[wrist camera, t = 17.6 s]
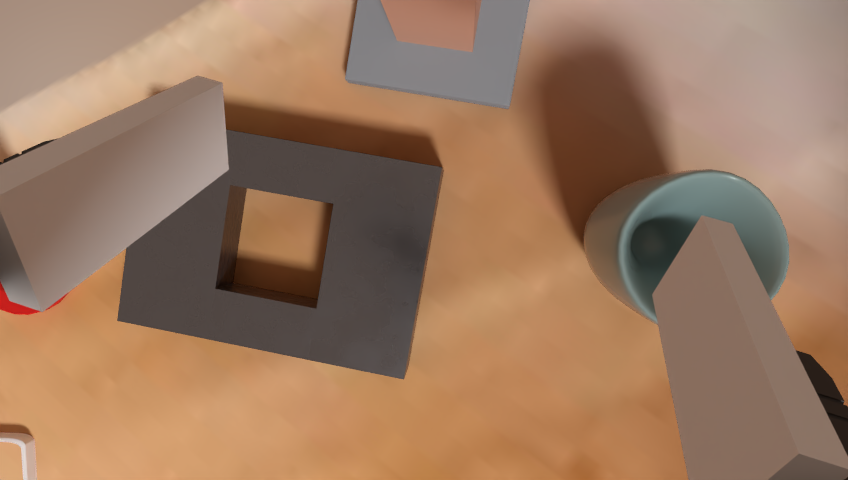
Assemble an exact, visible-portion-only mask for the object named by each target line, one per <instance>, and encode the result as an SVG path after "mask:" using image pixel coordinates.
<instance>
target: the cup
mask: <svg viewBox="0 0 848 480" xmlns="http://www.w3.org/2000/svg"><path fill="white" fill-rule="evenodd" d="M701 215H703V216H707V217H710V218H714V219H717V220H721V221H725V222H728V223H732V224H733V225H734V227H735V229H736V231H737V233H738V235H739V237H740V239H741V241H742V243H743V245H744V247H745V249H746V251H747V253H748V255H749V257H750V259H751V262H752V264H753V266H754V268H755V270H756V272H757V274H758V276H759V278H760V280H761V282H762V284H763V286H764V288H765V290H766V292H767V294H768V296H769V298H770V300H772V298H773V297H774V296H775V295H776V294H777V292H778V291H779V289H780V287H781V285H782V283H783V281H784V279H785V277H786V273H787V268H788V264H789V244H788V239H787V234H786V230H785V227H784V225H783V222H782V220H781V218H780V215H779V213H778V212H777V210H776V209H775V207H774V206H773V204H772V203H771V201H770V200H769V199H768V198H767V197H766V196H765V194H764V193H763V192H762V191H761V190H760V189H759V188H757V187H756V186H755V185H753V184H752V183H750V182H749V181H748V180H746V179H744V178H742V177H739V176H737V175H735V174H732V173H730V172H725V171H718V170H712V169H705V170H688V171H680V172H673V173H667V174H662V175H657V176H653V177H649V178H645V179H641V180H637V181H635V182H632V183H630V184H628V185H625V186H623V187H621V188H619V189H617V190H616V191H614V192H613V193H611V194H610V195H608V196H607V197H605V198H604V199H603V200H602V201H601V202H600V203H599V204H598V205H597V206H596V207H595V209H594V210H593V211H592V213H591V214H590V216H589V218H588V220H587V222H586V224H585V229H584V234H583V241H584V250H585V254H586V258H587V261H588V263H589V265H590V268H591V270H592V271H593V273H594V274H595V276H596V277H597V279H598V280H599V282H600V283H601V284H602V285H603V286H604V287H605V288H606V289H607V290H608V291H609V292H610V293H611V294H612V295H613V296H614V297H615V298H616V299H618V300H619V301H621V302H622V303H623V304H625V305H626V306H627V307H629V308H630V309H632V310H633V311H635V312H636V313H638V314H639V315H641V316H643V317H644V318H646V319H647V320H649V321H651V322H653V323H655V324H657V325H658V322H657V317H656V312H655V307H654V302H653V297H652V294H653V292H654V291H655V289H656V288H657V286H658V284H659V283H660V281H661V280H662V278H663V276H664V275H665V273H666V272H667V270H668V268H669V267H670V265H671V264H672V262H673V260H674V259H675V257H676V256H677V254H678V252H679V251H680V249H681V247H682V246H683V244H684V243H685V241H686V239H687V238H688V236H689V235H690V233H691V231H692V230H693V228H694V227H695V225H696V223H697V222H698V220H699V219H700V217H701Z"/></svg>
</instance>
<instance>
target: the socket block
mask: <svg viewBox="0 0 848 480" xmlns="http://www.w3.org/2000/svg"><path fill="white" fill-rule="evenodd" d="M226 138H227V151H228V165H229V170H228V171H226V172H225V173H224V174H222V175H221V176H220V177H218V178H217V179H216V180H215V181H213V182H212V183H211V184H209V185H208V186H207V187H205V188H204V189H203V190H201V191H200V192H199V193H198V194H196V195H195V196H194V197H192V198H191V199H190V200H188V201H187V202H186V203H184V204H183V205H182V206H181V207H179V208H178V209H177V210H175V211H174V212H173V213H171V214H170V215H169V216H168V217H166V218H165V219H164V220H162V221H161V222H160V223H158V224H157V225H156V226H154V227H153V228H152V229H151V230H149V231H148V232H147V233H145V234H144V235H143V236H141V237H140V238H139V239H137V240H136V241H135V242H134V243H132V244H131V245H130V246H128V247H127V249H126V256H125V264H124V272H123V280H122V288H121V296H120V304H119V312H118V320H117V321H122V322H126V323H131V324H136V325H141V326H146V327H151V328H156V329H161V330H165V331H170V332H175V333H180V334H185V335H190V336H195V337H200V338H204V339H209V340H214V341H219V342H224V343H229V344H234V345H239V346H244V347H248V348H253V349H258V350H263V351H268V352H273V353H278V354H283V355H287V356H292V357H297V358H302V359H307V360H312V361H317V362H322V363H327V364H331V365H336V366H341V367H346V368H351V369H356V370H361V371H366V372H370V373H375V374H380V375H385V376H390V377H395V378H400V379H404V378H405V375H406V372H407V369H408V365H409V360H410V354H411V349H412V343H413V338H414V332H415V326H416V321H417V315H418V310H419V304H420V299H421V293H422V288H423V282H424V277H425V271H426V265H427V260H428V254H429V249H430V243H431V238H432V232H433V227H434V221H435V216H436V210H437V204H438V199H439V193H440V188H441V182H442V177H443V171H444V170H443V168H442V167H438V166H432V165H426V164H421V163H415V162H409V161H403V160H398V159H392V158H386V157H380V156H375V155H369V154H363V153H357V152H352V151H346V150H340V149H335V148H329V147H323V146H317V145H312V144H306V143H300V142H294V141H289V140H283V139H277V138H272V137H266V136H260V135H254V134H249V133H243V132H237V131H231V130H226ZM247 188H250V189H255V190H260V191H266V192H271V193H277V194H282V195H288V196H293V197H299V198H304V199H310V200H315V201H321V202H326V203H332V204H333V210H332V216H331V222H330V228H329V235H328V241H327V247H326V253H325V259H324V265H323V272H322V278H321V284H320V290H319V296H318V299H313V298H308V297H303V296H298V295H293V294H287V293H282V292H277V291H272V290H267V289H262V288H257V287H252V286H247V285H242V284H236V283H233V278H234V271H235V264H236V257H237V250H238V244H239V237H240V230H241V223H242V216H243V209H244V203H245V196H246V189H247Z"/></svg>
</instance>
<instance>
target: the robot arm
mask: <svg viewBox="0 0 848 480" xmlns="http://www.w3.org/2000/svg"><path fill="white" fill-rule="evenodd" d="M228 170H229V165H228V151H227V138H226V124H225V110H224V97H223V83H222V82H218V81H215V80H211V79H207V78H204V77H200V76H196V77H193V78H191V79H189V80H187V81H185V82H182V83H180V84H178V85H176V86H174V87H171V88H169V89H167V90H165V91H162V92H160V93H158V94H156V95H154V96H151V97H149V98H147V99H145V100H143V101H140V102H138V103H136V104H134V105H132V106H129V107H127V108H125V109H123V110H120V111H118V112H116V113H114V114H112V115H109V116H107V117H105V118H103V119H101V120H98V121H96V122H94V123H92V124H90V125H87V126H85V127H83V128H81V129H79V130H76V131H74V132H72V133H70V134H67V135H65V136H63V137H61V138H58V139H54V140H50V141H45V142H42V143H40V144H38V145H36V146H33V147H31V148H29V149H27V150H24V151H22V154H21V155H20V154H15V155H13V156H11V157H9V158H7V159H4V162H3V163H1V162H0V282H1V284H2V286H3V288H4V290H5V292H6V295H7V297H8V299H9V301H11V302H14V303H17V304H20V305H23V306H26V307H29V308H32V309H35V310H38V311H40V312H43V311H45V310H46V309H47V308H49V307H50V306H51V305H52V304H54V303H55V302H56V301H58V300H59V299H60V298H62V297H63V296H64V295H66V294H67V293H68V292H69V291H71V290H72V289H73V288H75V287H76V286H77V285H79V284H80V283H81V282H83V281H84V280H85V279H86V278H88V277H89V276H90V275H92V274H93V273H94V272H96V271H97V270H98V269H100V268H101V267H102V266H103V265H105V264H106V263H107V262H109V261H110V260H111V259H113V258H114V257H115V256H117V255H118V254H119V253H120V252H122V251H123V250H124V249H126V248H127V247H128V246H130V245H131V244H132V243H134V242H135V241H136V240H137V239H139V238H140V237H141V236H143V235H144V234H145V233H147V232H148V231H149V230H151V229H152V228H153V227H154V226H156V225H157V224H158V223H160V222H161V221H162V220H164V219H165V218H166V217H168V216H169V215H170V214H171V213H173V212H174V211H175V210H177V209H178V208H179V207H181V206H182V205H183V204H184V203H186V202H187V201H188V200H190V199H191V198H192V197H194V196H195V195H196V194H198V193H199V192H200V191H201V190H203V189H204V188H205V187H207V186H208V185H209V184H211V183H212V182H213V181H215V180H216V179H217V178H218V177H220V176H221V175H222V174H224V173H225V172H226V171H228ZM652 297H653V302H654V307H655V312H656V317H657V322H658V327H659V332H660V337H661V342H662V347H663V352H664V357H665V362H666V367H667V373H668V378H669V383H670V388H671V393H672V398H673V403H674V408H675V413H676V418H677V423H678V428H679V433H680V438H681V443H682V448H683V453H684V459H685V464H686V469H687V474H688V479H689V480H848V407H847V406H846V405H843V403H844V400H843V398H842V396H841V394H840V392H839V390H838V389H837V387H836V385H835V383H834V381H833V379H832V378H831V377H830V376H829V374H828V373H827V372H826V371H825V370H824V369H823V368H822V367H821V366H820V365H819V364H818V363H817V362H816V360H815V359H814V358H813V357H812V356H811V355H809V354H806V353H803V352H799V351H796V350H795V348H794V346H793V344H792V342H791V340H790V338H789V336H788V334H787V332H786V330H785V328H784V326H783V324H782V322H781V320H780V318H779V316H778V314H777V312H776V310H775V308H774V306H773V304H772V302H771V300H770V298H769V296H768V294H767V292H766V290H765V288H764V286H763V284H762V282H761V280H760V278H759V276H758V274H757V272H756V270H755V268H754V266H753V264H752V262H751V259H750V257H749V255H748V253H747V251H746V249H745V247H744V245H743V243H742V241H741V239H740V237H739V235H738V233H737V231H736V229H735V227H734V225H733V224H732V223H728V222H725V221H721V220H717V219H714V218H710V217H707V216H703V215H701V217H700V219H699V220H698V222H697V223H696V225H695V227H694V228H693V230H692V231H691V233H690V235H689V236H688V238H687V239H686V241H685V243H684V244H683V246H682V247H681V249H680V251H679V252H678V254H677V256H676V257H675V259H674V260H673V262H672V264H671V265H670V267H669V268H668V270H667V272H666V273H665V275H664V276H663V278H662V280H661V281H660V283H659V284H658V286H657V288H656V289H655V291H654V292H653V294H652Z"/></svg>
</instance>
